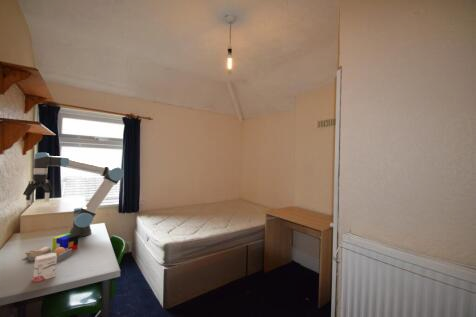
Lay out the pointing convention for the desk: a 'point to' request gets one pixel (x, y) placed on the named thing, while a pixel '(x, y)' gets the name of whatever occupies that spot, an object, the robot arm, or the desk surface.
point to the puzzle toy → (65, 242)
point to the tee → (29, 253)
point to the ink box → (45, 267)
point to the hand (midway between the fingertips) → (38, 202)
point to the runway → (47, 251)
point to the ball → (59, 250)
